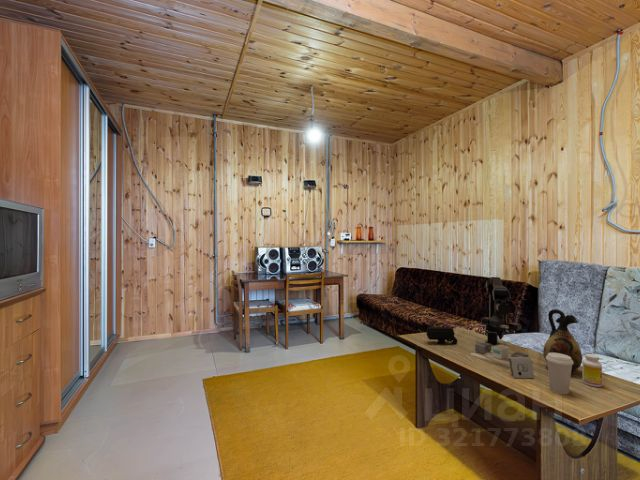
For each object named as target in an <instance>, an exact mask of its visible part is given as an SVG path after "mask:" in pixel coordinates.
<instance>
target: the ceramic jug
mask: <svg viewBox="0 0 640 480" xmlns="http://www.w3.org/2000/svg"><path fill="white" fill-rule="evenodd" d="M555 314H558V315H560V316H559V317H558V318H557V319H555V320H554V318H553V315H555ZM565 314H566V313H565V312H564V311H562V310H560V309H557V308H553V309H551V310H550V311H548V315H547V317H548V322H549V325H550V328H551V331H550V334H549V337H548V338H547V340H546V341H545V344H544V346H543V350H542V352H543V353H542V354H543V357H544V358H543V359H545V361H546V362H547V359H546V356H547V355H548V353H560V354H564V355H567V356H570V357H571V359H572V361H573V363H574V364H573V365H572V370H571V374H572V375H575V371H576V370H578V369H579V368H580V367H581V366H582V362H583V355H582V351H581V347H580V346H579V344H578V342H577V341H576V339H575V338H574V336H573V335H572V333H571V332H570V331H569V329H568V326H569V325H572V324H579V320H578V319H577V318H576V317H575V316H574V315H573V314H566V315H565ZM555 322H556V323H557V324H558V327H556V324H555Z"/></svg>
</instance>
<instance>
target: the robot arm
mask: <svg viewBox="0 0 640 480" xmlns="http://www.w3.org/2000/svg"><path fill="white" fill-rule="evenodd" d="M485 289H486V291H487V293H488V294H489V313H488V314H489V317H487V316H486V317H482V318H481V321H480V324H483V325H484V333H485V334H486V335H487V338H486V339H487V340H486V341H484V342H485V343H489V344H491V346H492V345H493V346H497V345H501V342H500V341H498V339H499V340H502V339H503V338H504V335H505V333H506V332H507V330H511V331H515V332H518V331H520V330H522V325H521V323H518V322H511V323H509V322H508V317H507V316H508V315H509V314H510V312H511V307H510V305H509V304H508V303H511V301H512V296H511V292H510V290H508V287H506V286H504V285H503V281H502V280H501V277H499V276H492V277H491V276H490V278H489V279H486V282H485Z"/></svg>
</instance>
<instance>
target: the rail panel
mask: <svg viewBox="0 0 640 480" xmlns="http://www.w3.org/2000/svg"><path fill="white" fill-rule="evenodd" d="M485 342H486V341H481V342H478V343H476V344H474V352H471V353H470V355H469V356H471V357H473V358H477V359H480V360H483V361H486V362H489V363H493V364H496V365H499V366H502V367H504V368H508V369H510V363H509V358H511V357H529V353H526V352H522V351H515V352H513V353H511V354H510V353H509V357H506V358H503V359H499V358H496V357H493V356H492V344H489V343H485ZM531 362H532V363H533V360H532V359H531Z"/></svg>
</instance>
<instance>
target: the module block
mask: <svg viewBox="0 0 640 480" xmlns="http://www.w3.org/2000/svg"><path fill="white" fill-rule="evenodd" d="M491 349H492V356H493V357H496V358H499V359H503V358H506V357H509V354H510V346H506V345H502V344H497V345H493V346H491Z"/></svg>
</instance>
